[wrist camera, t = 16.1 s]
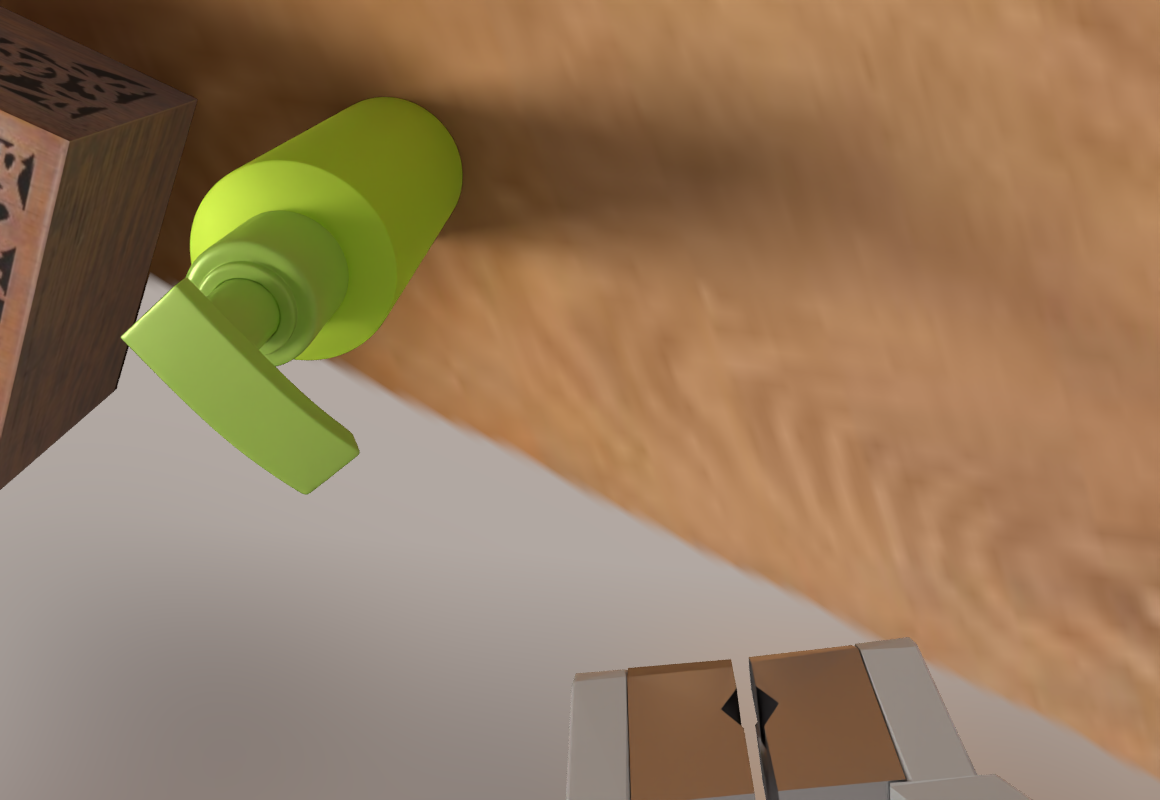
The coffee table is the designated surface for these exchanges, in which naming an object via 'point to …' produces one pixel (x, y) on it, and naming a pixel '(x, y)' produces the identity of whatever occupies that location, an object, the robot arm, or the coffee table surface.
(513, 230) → the coffee table surface
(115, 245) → the tissue box cover
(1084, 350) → the coffee table surface
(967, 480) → the coffee table surface
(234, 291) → the soap dispenser
